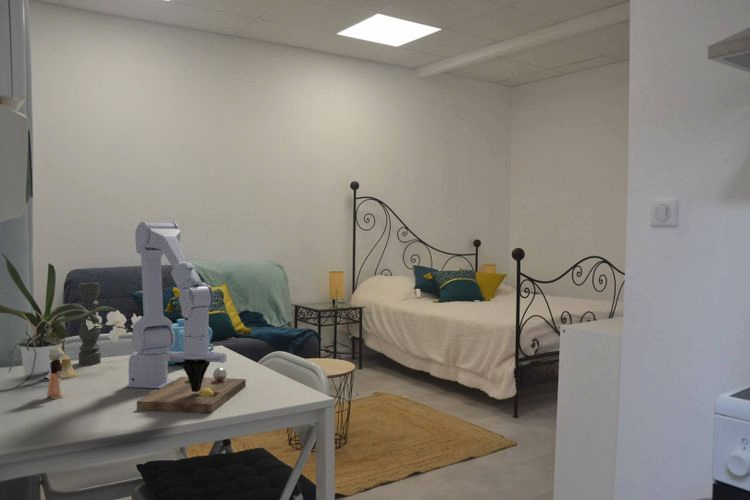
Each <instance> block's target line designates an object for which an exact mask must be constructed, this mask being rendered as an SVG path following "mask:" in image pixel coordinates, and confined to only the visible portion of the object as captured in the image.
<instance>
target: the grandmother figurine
mask: <svg viewBox="0 0 750 500" xmlns="http://www.w3.org/2000/svg"><path fill="white" fill-rule="evenodd" d="M63 355H64V352H63V351H62V349H61V348H59V347H58V346H52V347H50V348H49V356H48V358H49V360H51V362H50V367H49V368H50V369H51V374H50V379H48V384H47V390H46V391H47V393H46V395H47V397H49V398H50V399H51V400H57V399H62V398H64V396H63V394H62V389H61V385H60V384H61V378H62V375H61V374H62V367H61V363H60V360H59V359H60V357H61V356H63Z"/></svg>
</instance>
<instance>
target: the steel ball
mask: <svg viewBox="0 0 750 500" xmlns="http://www.w3.org/2000/svg"><path fill="white" fill-rule="evenodd" d="M227 377H228V373H227V370H226V369H225V368H224V367H218V368H216V369H215V370H214V371H213V373H212V378H214V379H215V380H217V381H223V380H224V379H225V378H227Z"/></svg>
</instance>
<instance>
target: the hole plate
mask: <svg viewBox="0 0 750 500" xmlns="http://www.w3.org/2000/svg"><path fill="white" fill-rule="evenodd" d="M173 380H174V381H173V382H171V383H169V384H167V385H165V386H164V387H162V388H157V390H155V391H153V392H151V393H149V394H148V395H145V396H144V397H142V398H140V399H138V400H137V401H136V410H137V409H138V410H137V411H151V410H161V411H160V412H173V411H183V412H182V413H195V412H202V413H201V414H213V413H214V412H215V411H216V410H217V409H219V408H220V407H221V406H223V405H224V404H225V403H226V402H228V401H229V400H230V399H231V398H233V397H234V396H235V395H236V394H238V393H240V391H242V390H243V389H245V387H246V383H247V382H246V378H230V377H229V378H227V377H226V378H225V379H224V380H223V381H217V380H215V379H214V377H205V376H204V377H203V380H202V384H201V390H202V389H205V388H209V389H211V390H212V391H213V393H214V397H199V393H200V391H201V390H199V391H198V392H192V389H191V385H190V381H189V378H188V376H180V377H178V378H176V379H173ZM222 404H223V405H222ZM218 407H219V408H218ZM214 410H215V411H214ZM213 411H214V412H213Z"/></svg>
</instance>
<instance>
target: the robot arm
mask: <svg viewBox="0 0 750 500" xmlns="http://www.w3.org/2000/svg"><path fill="white" fill-rule="evenodd" d="M134 235H135V248H136V249H135V250H136V253H137V254H139V255H140V257H141V284H142V286H141V287H142V309H143V310H142V311H143V316H142V317H141V318H139V319H138V320H137V321H136V322H135V323H134V324H133V327H132V335H131V345H132V348H133V350H134V351H133V352H132V353H131V354H130V356H129V360H128V384H127V385H126V387H127V388H145V389H160V388H162V387H164V386H165V385H167V384H169V383H171V382H173V381H174V380H175V379H168V376H169V375H168V374H169V372H168V366H169V365H168V361H171V360H176V361H184V362H183V363H182V364H181V365H182V369H183V370H184V372H185V374H186V377H188V378H189V381H190V385H191V389H192V392H198V391H199V390H201V384H202V380H203V377H205V375H206V372H207V370H208V367H209V366H210V363H211V362H212V363H220V364H224V363H226V362H227V353H226V352H224V353H223V352H215V351H214V352H213V351H211V352H208V351H209V349H210V348H209V347H210V346H209V344H210V343H209V327H210V326H209V315H210V312H209V311H210V310H209V309H210V308H211V307H213V305H214V293H213V289H212V287H211V286H210V285H209V284H207V283H206V282H205V281H202V279H201V278H200V276H199V274H198V271H197V270H196V268H195V266H194V264H193V263H191V262H187V260H186V257H185V254H184V252H183V249H182V247H181V244H180V239H181V230H180V226H179V225H178V223H177V222H174V221H171V222H156V221H153V222H151V221H149V222H147V221H141V222H139V223H138V225H137V226H136V229H135V234H134ZM163 255H164V256H165V257H166V259H167V261H168V262H169V263H170V265H171V267H172V270H171V273H170V274H171V277H172V279H173V281H174V283H175V285H176V287H177V290H178V291H179V297H178V300H179V301H178V302H179V306H180V308H181V315H182V317H183V319H184V351H177V352H168V351H170V348H171V347H172V346H173V344H174V341H175V334H174V331H173V327H172V324H173V321H171V319H169V318H168V317H167V316H165V315H164V304H163V303H164V301H163V300H164V299H163V298H164V297H163V275H162V274H163V273H162V257H163Z"/></svg>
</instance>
